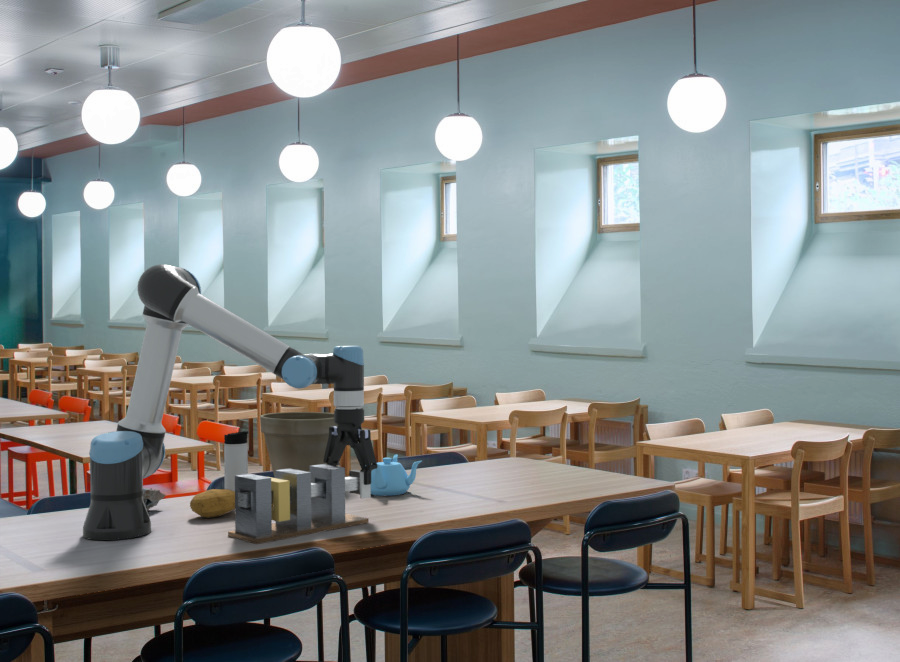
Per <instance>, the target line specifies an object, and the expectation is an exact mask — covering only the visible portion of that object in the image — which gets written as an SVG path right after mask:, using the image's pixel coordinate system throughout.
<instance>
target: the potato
mask: <svg viewBox="0 0 900 662" xmlns="http://www.w3.org/2000/svg"><path fill="white" fill-rule="evenodd" d="M189 507H190V509H191V511H192V512H194V513H195V514H196V515H198V516H199V517H202V518H205V519H211V518H210V517H212V518H218V517H221V516H224V515H226V514H228V513H230V512H232V511H233V510H235V492H234V491H232V490H229V489H225V488H221V489H218V488H215V489H214V488H212V489H208V490H204V491H202V492H199V493H197V494H195V495H194V496H192V498H191V501H190V502H189Z"/></svg>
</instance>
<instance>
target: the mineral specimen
mask: <svg viewBox="0 0 900 662" xmlns="http://www.w3.org/2000/svg"><path fill="white" fill-rule="evenodd" d="M165 497H166V494H165V493H162V492H161V491H160V490H159V489H153V488H147V487H143V501H144V504H145V506H146V509H147V510H150V509H152V508H154V507H157V506H158V504H159V502H160V501H161V500H163V499H164V498H165Z"/></svg>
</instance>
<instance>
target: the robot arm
mask: <svg viewBox="0 0 900 662" xmlns="http://www.w3.org/2000/svg"><path fill="white" fill-rule="evenodd" d="M201 288H202V287H201V284H200V282H199V280H198V278H197V277H196V276H195V275H194V274H193V273H191V271H189V270H187V268H183V267H181V266H173V265H171V264H155V265H153V266H150V267H148V268H147V269H146V270H144V272H142V274H141V275H140V277H139V279H138V282H137V295H138V298H139V299H140V301H141V302H142V304H143V305H144V306H143V311H142V317H143V318H144V320H145V321H146V326H145V331H144V334H143V340H142V344H141V348H140V349H141V350H140V352H139V358H138V362H137V366H136V369H135V370H136V371H135V375H134V379H133V384H132V389H131V393H130V397H129V401H128V407H127V411H126V415H125V417H124V418H122V419H120V420H119V421H118V422H117V426H116V430H115V431H111V432H108V433H107V432H106V433H101V434H98V435H96V436H95V437H93V438H92V439H91V440H90V441H91V442H90V449H89V453H88V454H89V474H90V479H89V481H90V482H89V483H90V504H89V508H88V511H87V513H86V517H85V519H84V523H83V525H82V537H83V538H84V539H87V540H95V541H114V540H116V541H117V540H118V541H119V540H126V539H127V540H128V539H133V538H137V537H143V536H146V535H148V534H149V533H152V521H151V518H150V514H149V512H148V511H147V509H146V506H145V504H144V501H143V488H144V479H146V478H148V477H150V476H153V474H155V473H156V472H157V471H158V470H159V468H160V467H161V466H162V465H163V463H164V461H165V457H166V445H165V443H164V440H165V436H166V431H167V430H166V428H165V427H164V425H163V423H162V421H163V417H164V412H165V408H166V403H167V400H168V395H169V389H170V385H171V381H172V377H173V372H174V368H175V364H176V359H177V355H178V351H179V350H178V349H179V346H180V341H181V336H182V333H183V330H184V329H185V328H188V327H189V326H191V327H192V328H193V329H195V330H197V331H200V332H201V333H202V334H204V335H206V336H208V337H210V338H211V339H213V340H215V341H216V342H218V343H220V344H221V345H223V346H225V347H227V348H229V349H231V350H232V351H234V352H235V353H237V354H239V355H240V356H242V357H245V358H246V359H247V360H249V361H251V362H252V363H254V364H256V365H258V366H260V367H261V368H262V369H265V370H266V371H268V372H270V373H272V374H273V375H275V376H277V377H278V378H279V379H281V380H283V381H284V382H285V383H286V384H287V385H288V386H290V387H292V388H294V389H305V388H307V387H309V386H311V385H331V384H332V385H333V407H336V408H334V410H333V413H334V422H335V423H336V424H338V426H332V427H329V437H328V442H327V446H326V451H325V455H324V459H323V462H324V463H327V464H328V465H331V466H337V467H341V464H340V461H341V458H342V456H343V453H344V451H345V449H346V447H347V446H350V448H351V449H352V450H353V452H354V454H355V456H356V459H357V461H358V464H359V466H360V495H359V498H360V499H361V500H362V499H367V498H371V495H372V494H371V490H370V484H371V471H372V470H374V469H377V463H378V462H377V458H376V455H375V451H374V447H373V443H372V437H371V436H372V435H371V433H372V432H371V430H370V429H362V424H363V423H364V422H365V409H364V406H365V393H364V392H365V362H364V350H363V348H362V346H359V345H336V346H334V347H333V350H332V353H327V354H325V353H324V354H323V353H321V354H320V353H302V352H301V351H298V350H296V349H295V348H293V347H291V346H290V345H288V344H287V343H285V342H283V341H281V340H280V339H278V338H276V337H274V336H272V335H271V334H269V333H268V332H266V331H265V330H262V329H260V328H259V327H257V326H255V325H254V324H252V323H250V322H248V321H247V320H245V319H243V317H240V316H238V315H237V314H235V313H233V312H232V311H230V310H228V309H226V308H224V307H223V306H222V305H219V304H218V303H216V302H214V301H213V300H210V299H209V298H207V297H205V296H204V295H202V289H201ZM328 457H330V458H328ZM371 464H372V465H371ZM365 465H366V466H365Z"/></svg>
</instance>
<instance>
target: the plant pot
mask: <svg viewBox="0 0 900 662" xmlns="http://www.w3.org/2000/svg"><path fill="white" fill-rule="evenodd" d="M259 420H260V422H259V424H260V432H261V433H263V436H264V441H265V445H266V448H267V449H266V450H267V453H268V458H269V460H270V465H271V469H272V473H273V476H274V477H273V478H275V470H282V469H295V470H300V471H306V472H310V468H309V466H312V465H320V464H325V465H328V464H327V463H324V462H323V459H324V455H325V451H326V446H327V442H328V437H329V427H332V426H338V424H336V423H335V422H334V412H321V411H320V412H317V411H290V412H289V411H286V412H271V413H265V414H262V415H260V416H259ZM328 458H330V457H328Z"/></svg>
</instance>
